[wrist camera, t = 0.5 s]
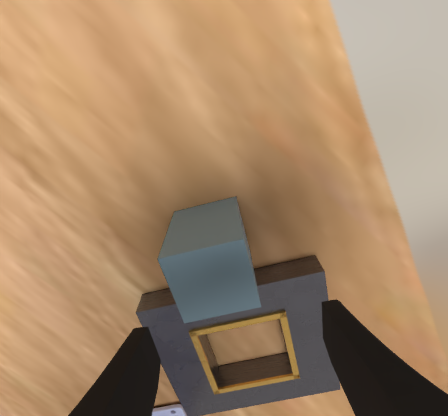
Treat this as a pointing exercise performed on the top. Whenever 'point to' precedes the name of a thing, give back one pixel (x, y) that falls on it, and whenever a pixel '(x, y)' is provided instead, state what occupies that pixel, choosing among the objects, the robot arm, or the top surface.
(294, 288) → the square hole plate
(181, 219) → the peg
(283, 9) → the top surface
